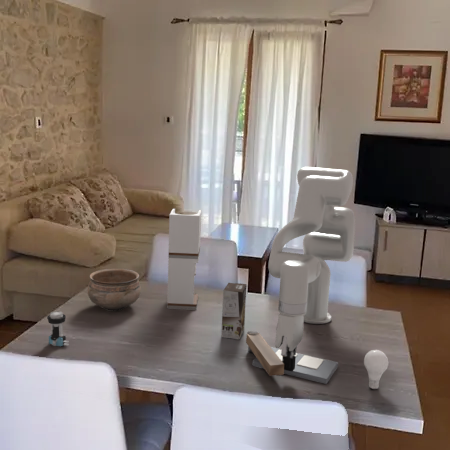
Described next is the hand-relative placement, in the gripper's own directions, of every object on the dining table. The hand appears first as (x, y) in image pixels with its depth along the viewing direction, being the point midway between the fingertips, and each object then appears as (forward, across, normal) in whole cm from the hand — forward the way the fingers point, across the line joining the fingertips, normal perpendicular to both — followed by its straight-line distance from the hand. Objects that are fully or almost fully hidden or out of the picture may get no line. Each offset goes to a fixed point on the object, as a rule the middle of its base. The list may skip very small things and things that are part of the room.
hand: (288, 369), depth 158 cm
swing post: (+4, -12, -16) cm, 21 cm away
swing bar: (0, -5, -10) cm, 11 cm away
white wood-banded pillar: (+4, -39, -55) cm, 67 cm away
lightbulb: (+4, -8, +22) cm, 24 cm away
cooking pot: (+4, -22, -74) cm, 77 cm away
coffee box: (+4, -22, -27) cm, 35 cm away
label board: (+4, -10, -1) cm, 10 cm away
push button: (+4, +13, -69) cm, 70 cm away
